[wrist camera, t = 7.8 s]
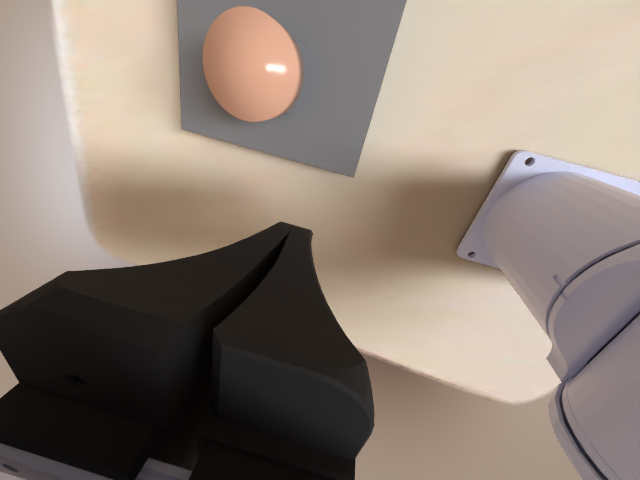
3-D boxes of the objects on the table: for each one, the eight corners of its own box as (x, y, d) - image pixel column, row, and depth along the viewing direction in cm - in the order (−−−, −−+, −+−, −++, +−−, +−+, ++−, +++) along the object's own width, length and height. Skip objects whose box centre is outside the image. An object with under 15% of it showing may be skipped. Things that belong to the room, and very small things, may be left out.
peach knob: (326, 43, 16) (303, 20, 11) (310, 122, 18) (286, 132, 13) (255, 25, 16) (202, -6, 11) (249, 105, 18) (202, 109, 13)
